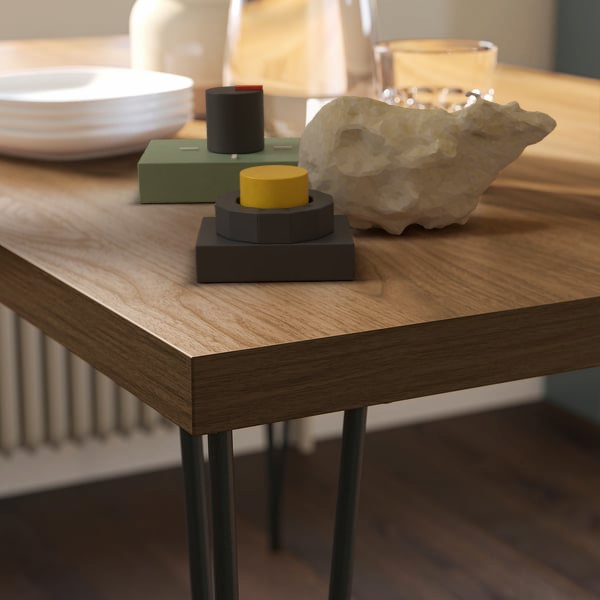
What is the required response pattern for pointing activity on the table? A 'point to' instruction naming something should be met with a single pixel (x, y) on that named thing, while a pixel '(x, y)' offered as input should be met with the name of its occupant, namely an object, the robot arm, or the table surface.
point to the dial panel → (202, 168)
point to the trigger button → (274, 186)
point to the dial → (235, 119)
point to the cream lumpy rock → (413, 158)
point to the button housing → (275, 242)
